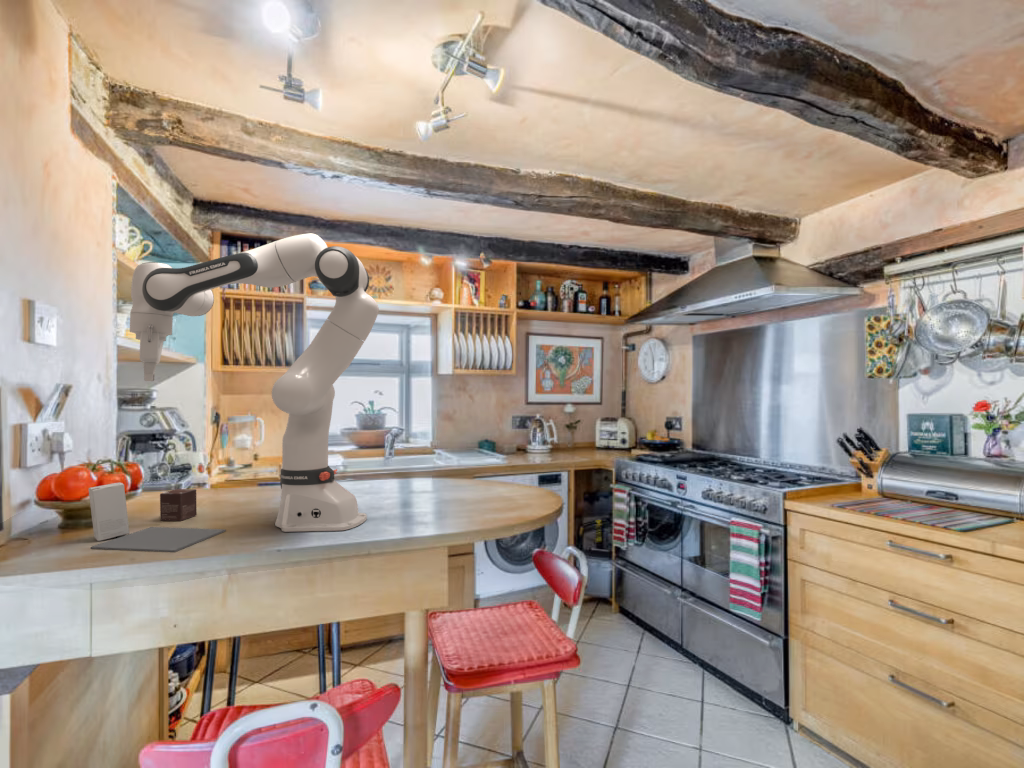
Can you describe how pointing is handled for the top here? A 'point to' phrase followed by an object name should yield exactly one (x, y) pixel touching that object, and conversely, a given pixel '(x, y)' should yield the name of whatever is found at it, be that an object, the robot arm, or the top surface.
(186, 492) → the box
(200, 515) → the top surface
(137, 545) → the mat
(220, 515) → the top surface
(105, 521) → the skincare box
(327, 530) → the robot arm
